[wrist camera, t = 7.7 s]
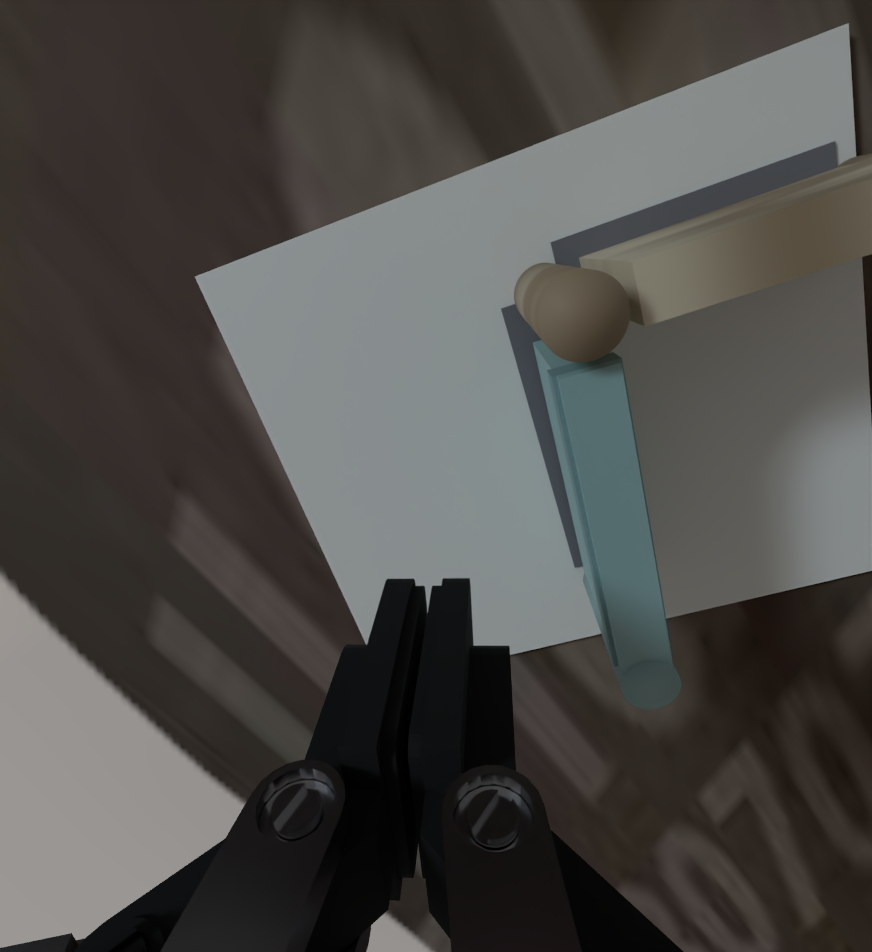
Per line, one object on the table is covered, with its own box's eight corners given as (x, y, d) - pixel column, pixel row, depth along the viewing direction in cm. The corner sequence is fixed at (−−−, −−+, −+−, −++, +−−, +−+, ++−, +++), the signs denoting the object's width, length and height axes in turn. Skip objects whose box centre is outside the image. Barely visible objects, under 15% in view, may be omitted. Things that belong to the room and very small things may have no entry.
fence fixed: (874, 144, 14) (1151, 72, 8) (877, 212, 14) (1138, 188, 9) (506, 274, 15) (528, 287, 10) (521, 330, 16) (551, 374, 10)
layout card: (840, 27, 13) (851, 21, 13) (873, 563, 18) (882, 570, 18) (199, 276, 16) (193, 276, 15) (385, 678, 21) (384, 686, 20)
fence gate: (529, 343, 15) (554, 382, 11) (580, 328, 15) (627, 362, 10) (587, 600, 18) (626, 713, 14) (630, 591, 18) (685, 703, 13)
